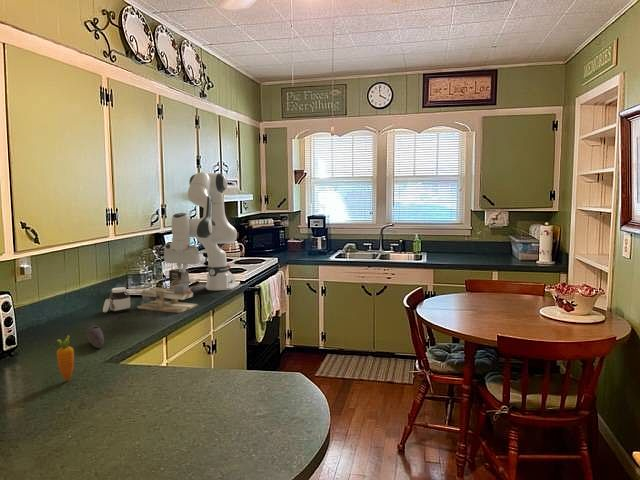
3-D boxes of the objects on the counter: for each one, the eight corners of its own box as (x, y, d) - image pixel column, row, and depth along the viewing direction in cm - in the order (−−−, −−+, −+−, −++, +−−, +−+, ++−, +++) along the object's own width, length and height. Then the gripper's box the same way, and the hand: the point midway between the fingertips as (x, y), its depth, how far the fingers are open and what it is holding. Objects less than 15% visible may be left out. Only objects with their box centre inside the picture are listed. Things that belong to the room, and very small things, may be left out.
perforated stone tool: (107, 349, 188) (106, 332, 187) (92, 352, 185) (91, 334, 184) (100, 339, 200) (99, 323, 199) (86, 342, 197) (85, 325, 196)
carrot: (58, 385, 154) (55, 340, 152) (59, 379, 158) (55, 335, 156) (76, 382, 156) (72, 337, 154) (75, 376, 160) (72, 333, 159)
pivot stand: (157, 301, 264) (156, 283, 263) (197, 305, 254) (196, 287, 252) (137, 308, 250) (136, 289, 249) (179, 313, 240) (178, 293, 239)
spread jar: (133, 310, 246) (131, 288, 245) (113, 315, 237) (111, 292, 236) (118, 307, 253) (117, 285, 251) (98, 312, 243) (97, 289, 242)
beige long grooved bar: (152, 296, 260) (151, 285, 260) (193, 300, 250) (192, 288, 249) (141, 299, 253) (141, 288, 252) (183, 304, 243) (182, 292, 242)
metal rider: (179, 292, 250) (178, 283, 250) (188, 293, 248) (188, 284, 247) (174, 294, 247) (173, 285, 246) (183, 295, 244) (183, 286, 244)
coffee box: (169, 298, 272) (168, 270, 270) (178, 296, 277) (176, 268, 275) (181, 300, 267) (180, 271, 265) (190, 297, 273) (188, 269, 271)
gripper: (201, 245, 243) (203, 272, 244) (170, 243, 251) (171, 270, 252) (194, 246, 237) (195, 274, 238) (161, 245, 245) (162, 272, 246)
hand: (182, 272), depth 245 cm, fingers closed
